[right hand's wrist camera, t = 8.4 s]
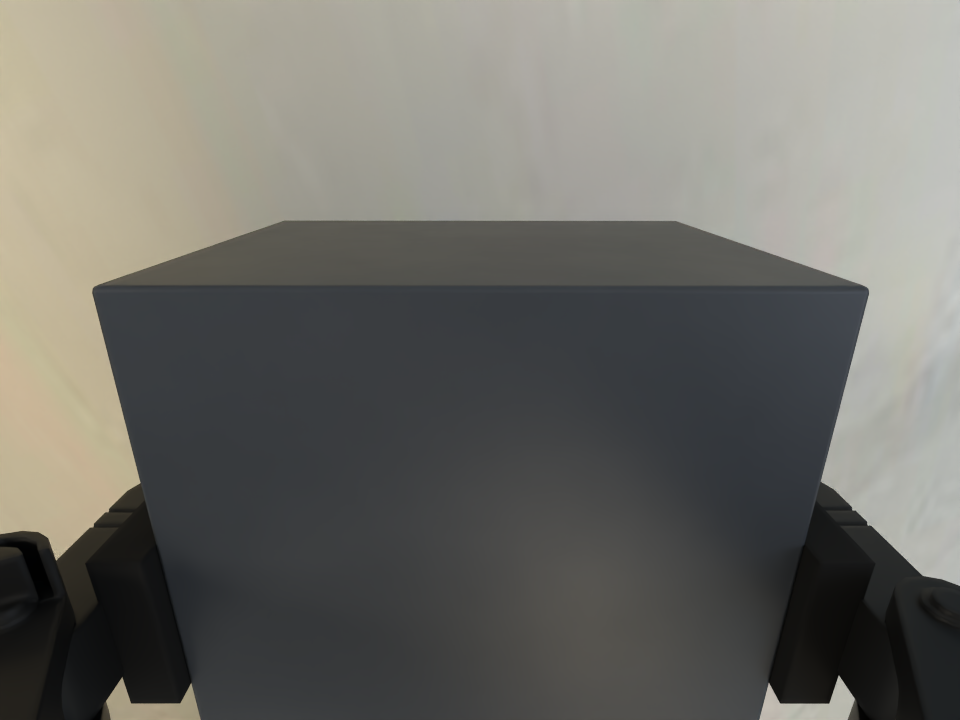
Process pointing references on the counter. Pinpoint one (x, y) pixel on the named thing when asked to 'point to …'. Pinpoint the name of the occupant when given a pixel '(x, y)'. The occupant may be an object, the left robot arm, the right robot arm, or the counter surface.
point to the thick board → (480, 464)
